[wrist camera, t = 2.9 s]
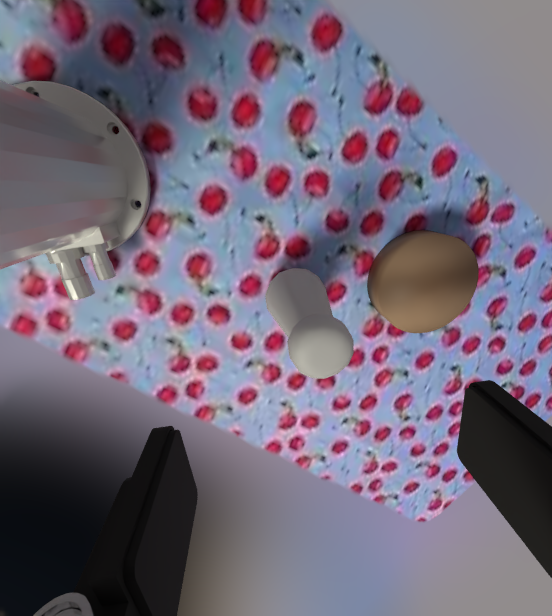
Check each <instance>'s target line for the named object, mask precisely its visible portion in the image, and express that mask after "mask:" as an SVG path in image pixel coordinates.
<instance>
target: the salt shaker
mask: <svg viewBox="0 0 552 616" xmlns="http://www.w3.org/2000/svg"><path fill="white" fill-rule="evenodd" d="M266 304H267V309H268V311H269V312H270V314H271V315H272V316H273V318H274V319H275V321H276V322H277V323H278V324H279V326H280V327H281V328H282V330H283V331H284V332H285V334H286V335H287V336H288V338H289V339H288V349H289V356H290V359H291V360H292V362H293V363H294V365H295V366H296V368H297V369H298V370H299V372H300V373H302V374H304V375H306V376H308V377H310V378H327V377H330V376H333V375H335V374H338V373H339V372H340V371H341V370H342V369H344V368H345V367H346V366H347V365H348V364H349V361H350V359H351V357H352V355H353V339H352V336H351V334H350V333H349V331H348V329H347V328H346V326H345V325H344V324H343V323H342V322H341V321H340V320H338V319H336V318H334V317H333V315H332V311H331V308H330V304H329V300H328V296H327V292H326V288H325V286H324V285H323V283H322V281H321V280H320V278H319V277H318V276H317V275H315V274H314V273H312V272H311V271H309V270H307V269H301V268H291V269H288V270H285V271H282V272H280V273H279V274H278V275H277V276H276V277H275V278H274V279H273V280H272V281H271V282H270V284H269V287H268V289H267V292H266Z"/></svg>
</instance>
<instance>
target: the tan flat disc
mask: <svg viewBox="0 0 552 616" xmlns="http://www.w3.org/2000/svg"><path fill="white" fill-rule="evenodd" d="M477 281H478V264H477V259H476V257H475V254H474V253H473V251H472V249H471V248H470V247H469V246H468V245H467V244H466V243H465V242H464V241H462V240H460V239H458V238H456V237H453V236H449V235H445V234H441V233H437V232H433V231H428V230H417V231H411V232H408V233H405V234H402V235H400V236H398V237H396V238H395V239H393V240H392V241H391V242H389V243H388V244H387V245H386V246H385V247H384V248H383V249H382V250H381V251H380V252H379V254H378V255H377V257H376V258H375V260H374V262H373V264H372V266H371V268H370V272H369V275H368V283H367V288H368V295H369V298H370V301H371V303H372V305H373V306H374V308H375V309H376V310H377V311H378V312H379V313H380V314H381V315H382V316H383V317H385V318H386V319H387V320H388V321H389V322H390V323H391V324H392V325H393V326H395V327H396V328H398V329H400V330H402V331H406V332H410V333H425V332H430V331H433V330H436V329H439V328H441V327H443V326H445V325H446V324H448V323H450V322H451V321H452V320H454V319H455V318H456V317H457V316H458V315H459V314H460V313H461V312H462V311H463V310H464V309H465V308H466V306H467V305H468V303H469V302H470V300H471V298H472V296H473V294H474V292H475V289H476V286H477Z"/></svg>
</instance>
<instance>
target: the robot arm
mask: <svg viewBox="0 0 552 616" xmlns="http://www.w3.org/2000/svg"><path fill="white" fill-rule="evenodd" d="M37 94H39V97H37ZM116 127H118V128H119V133H118V134H115V132H114V129H115V128H116ZM150 192H151V187H150V176H149V171H148V168H147V164H146V160H145V157H144V155H143V153H142V151H141V149H140V147H139V144H138V142H137V141H136V139H135V138H134V136H133V135H132V133H131V132H130V130H129V129H128V127H127V126H126V125H125V124H124V123H123V122H122V121H121V120H120V119H119V118H118V117H117V116H116V114H115V113H113V112H112V111H111V110H109V109H108V108H107V107H106V106H104V105H103V104H102V103H101V102H99V101H97V100H96V99H94V98H92V97H91V96H89V95H88V94H86V93H83V92H81V91H79V90H77V89H74V88H72V87H70V86H67V85H63V84H59V83H54V82H49V81H29V82H24V83H18V84H14V85H10V84H8V83H6V82H3V81H1V80H0V269H2V268H5V267H8V266H11V265H14V264H16V263H19V262H22V261H25V260H28V259H30V258H33V257H36V256H39V255H42V254H44V253H45V254H46V256H47V258H48V260H49V262H50V264H56V265H57V268H58V270H59V272H60V275H61V277H62V282H63V284H64V286H65V289H66V291H67V293H68V296H69V298H70V300H76V299H81V298H85V297H88V296H91V295H92V294H94V293H95V291H94V288H93V286H92V283H91V281H90V278H89V276H88V273H86V272H85V269H84V267H83V264H82V262H81V259H80V258H82V257H84V256H87V255H90V256H91V259H92V261H93V264H94V265H93V267H94V269H95V272H96V274H97V277H98V280H106V279H110V278H113V277H115V276H116V273H115V271H114V268H113V265H112V262H111V261H110V259H109V257H108V254H107V251H110V250H112V249H114V248H116V247H118V246H120V245H121V244H123V243H124V242H126V241H127V240H128V239H130V238H131V237H132V236H133V235H134V233H135V232H136V231H137V230H138V229H139V228H140V226H141V224H142V222H143V220H144V219H145V217H146V213H147V210H148V207H149V203H150ZM137 201H140V202H141V206H140V207H138V206H137V205H136V202H137ZM457 453H458V457H459V459H460V461H461V462H462V464H463V465H464V466H465V467H466V469H467V470H468V471H469V473H470V474H471V475H472V476H473V478H474V479H475V480H476V482H477V483H478V484H479V486H480V487H481V488H482V489H483V491H484V492H485V493H486V494H487V496H488V497H489V498H490V500H491V501H492V502H493V504H494V505H495V506H496V507H497V509H498V510H499V511H500V512H501V514H502V515H503V516H504V518H505V519H506V520H507V521H508V523H509V524H510V525H511V527H512V528H513V529H514V531H515V532H516V533H517V534H518V536H519V537H520V538H521V539H522V541H523V542H524V543H525V545H526V546H527V547H528V549H529V550H530V551H531V553H532V554H533V555H534V556H535V558H536V559H537V560H538V562H539V563H540V564H541V565H542V567H543V568H544V569H545V570H546V572H547V573H548V574H549V575H550V577H551V578H552V427H551V426H550V425H549V424H547V423H546V422H545V421H544V420H542V419H541V418H540V417H539V416H537V415H536V414H535V413H533V412H532V411H531V410H530V409H528V408H527V407H526V406H524V405H523V404H522V403H521V402H519V401H518V400H517V399H516V398H514V397H513V396H512V395H510V394H509V393H508V392H507V391H505V390H504V389H503V388H501V387H500V386H499V385H498V384H496V383H495V382H493V381H490V380H488V381H481V382H474V383H471V384H470V385H469V388H467V389H466V390H465V395H464V403H463V410H462V417H461V424H460V432H459V439H458V446H457ZM196 505H197V488H196V484H195V481H194V478H193V474H192V471H191V468H190V464H189V461H188V457H187V454H186V451H185V447H184V444H183V440H182V437H181V433H180V431H179V430H174V428H173V427H172V426H168V427H160V428H154V429H152V431H151V433H150V435H149V438H148V440H147V442H146V445H145V447H144V450H143V452H142V454H141V457H140V459H139V461H138V464H137V466H136V468H135V471H134V473H133V475H132V477H130V478H127V479H126V480H125V481H124V482H123V484H122V485H121V488H120V490H119V492H118V494H117V496H116V499H115V501H114V503H113V505H112V507H111V510H110V512H109V514H108V517H107V519H106V521H105V523H104V525H103V528H102V530H101V533H100V535H99V537H98V539H97V541H96V543H95V546H94V548H93V550H92V552H91V555H90V557H89V559H88V561H87V563H86V566H85V568H84V570H83V573H82V575H81V577H80V580H79V582H78V584H77V586H76V588H75V590H74V592H73V593H67V594H65V595H62V596H59V597H57V598H55V599H54V600H52V601H51V602H49V603H48V604H46V605H45V606H43V607H42V608H41V609H40V610H39V611H38V612H37V613H36V614H35V615H34V616H177V611H178V605H179V600H180V594H181V589H182V583H183V577H184V572H185V566H186V560H187V555H188V549H189V544H190V538H191V532H192V527H193V521H194V516H195V510H196Z"/></svg>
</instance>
